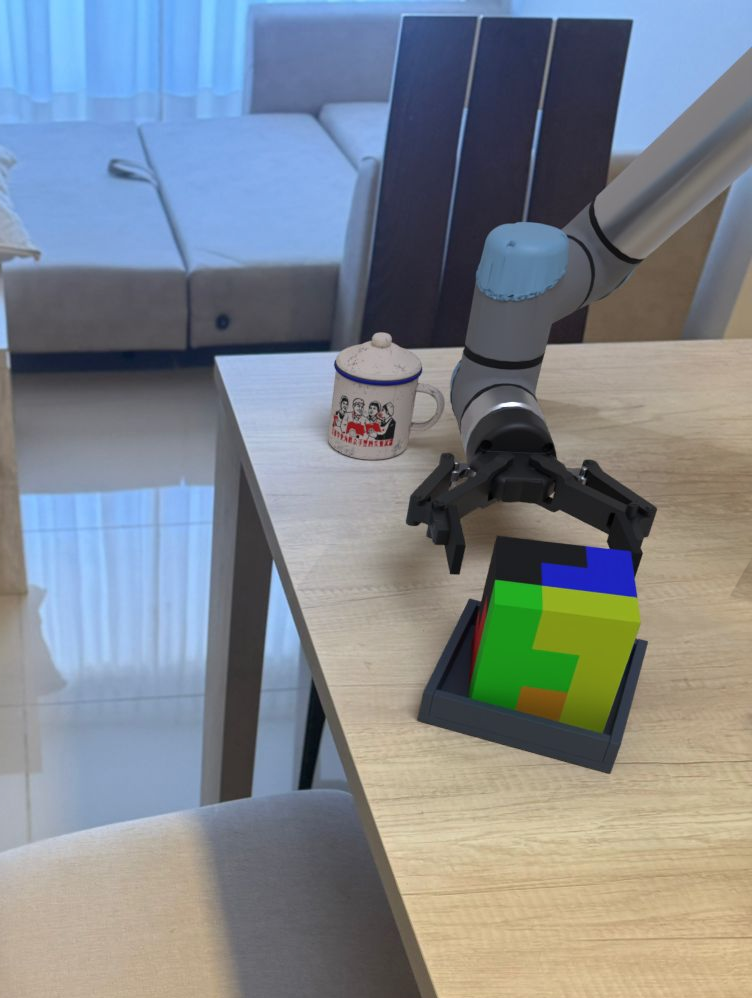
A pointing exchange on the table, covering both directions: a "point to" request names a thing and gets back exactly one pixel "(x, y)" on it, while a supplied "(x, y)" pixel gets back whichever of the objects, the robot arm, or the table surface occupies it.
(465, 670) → the dark gray tray
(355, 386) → the teacup with lid
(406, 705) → the table surface
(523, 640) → the puzzle toy
